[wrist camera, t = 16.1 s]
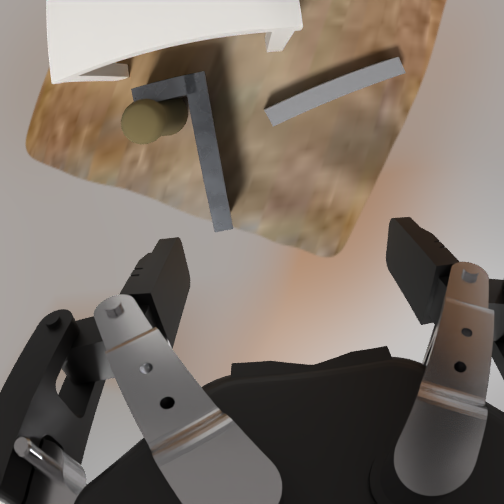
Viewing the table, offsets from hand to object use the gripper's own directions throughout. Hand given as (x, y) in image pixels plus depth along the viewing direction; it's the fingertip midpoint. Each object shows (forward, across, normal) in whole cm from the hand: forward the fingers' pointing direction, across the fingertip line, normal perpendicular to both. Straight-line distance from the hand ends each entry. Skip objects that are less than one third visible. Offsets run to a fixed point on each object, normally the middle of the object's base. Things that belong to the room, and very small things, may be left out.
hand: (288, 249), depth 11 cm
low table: (+32, +8, -19) cm, 38 cm away
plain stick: (+32, -10, -6) cm, 35 cm away
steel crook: (+32, +11, +1) cm, 33 cm away
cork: (+32, +13, -5) cm, 35 cm away
